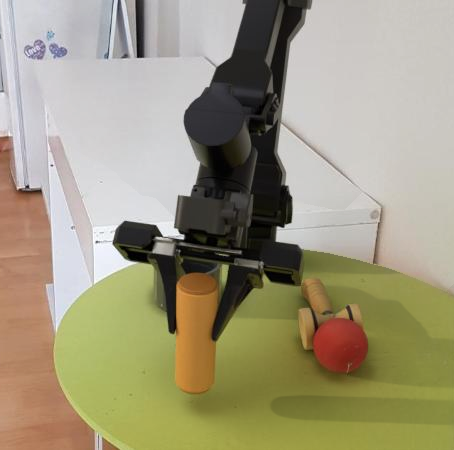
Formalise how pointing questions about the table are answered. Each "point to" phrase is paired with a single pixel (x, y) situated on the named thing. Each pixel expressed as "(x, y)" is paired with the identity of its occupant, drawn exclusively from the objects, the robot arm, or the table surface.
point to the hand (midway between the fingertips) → (192, 337)
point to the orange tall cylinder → (195, 332)
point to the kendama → (332, 330)
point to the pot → (188, 267)
